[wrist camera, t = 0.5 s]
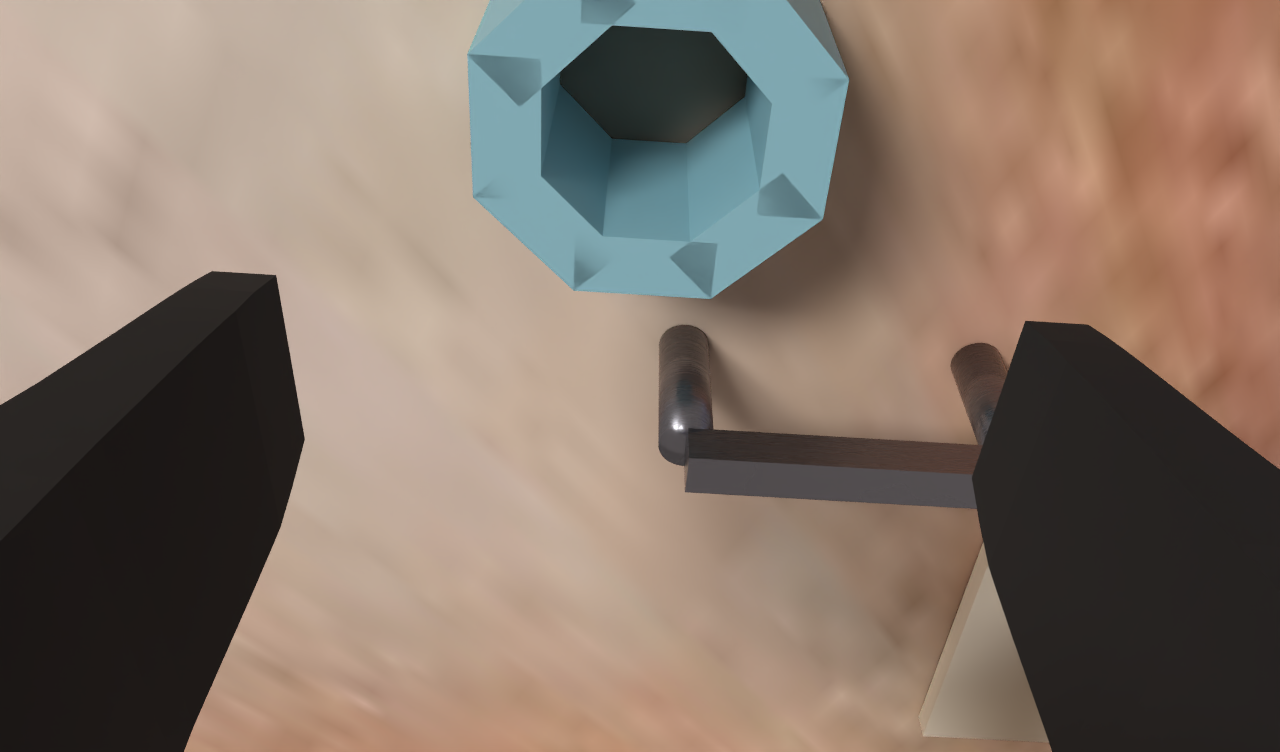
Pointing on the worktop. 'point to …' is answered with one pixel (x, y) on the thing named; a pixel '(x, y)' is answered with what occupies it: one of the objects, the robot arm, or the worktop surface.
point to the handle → (817, 441)
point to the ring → (654, 145)
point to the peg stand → (981, 674)
